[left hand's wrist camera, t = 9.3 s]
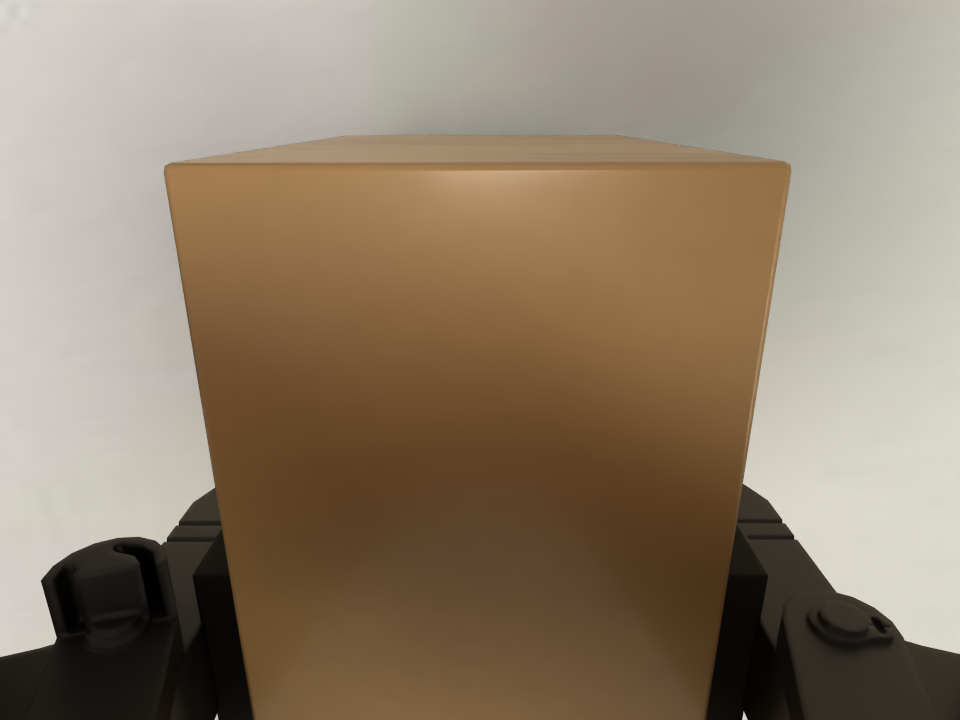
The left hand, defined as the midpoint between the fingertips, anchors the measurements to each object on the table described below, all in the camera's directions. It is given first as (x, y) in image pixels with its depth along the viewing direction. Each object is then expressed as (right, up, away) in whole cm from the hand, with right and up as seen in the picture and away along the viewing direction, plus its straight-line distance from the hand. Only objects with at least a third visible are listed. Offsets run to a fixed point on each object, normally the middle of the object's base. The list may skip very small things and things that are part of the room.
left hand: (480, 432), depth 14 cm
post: (0, -26, +10) cm, 28 cm away
